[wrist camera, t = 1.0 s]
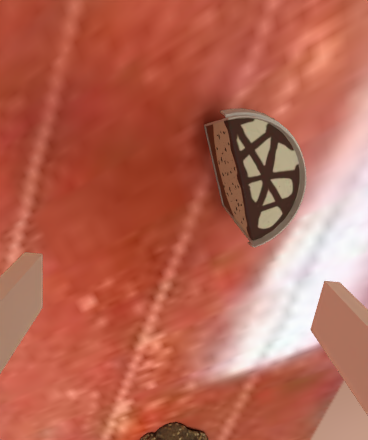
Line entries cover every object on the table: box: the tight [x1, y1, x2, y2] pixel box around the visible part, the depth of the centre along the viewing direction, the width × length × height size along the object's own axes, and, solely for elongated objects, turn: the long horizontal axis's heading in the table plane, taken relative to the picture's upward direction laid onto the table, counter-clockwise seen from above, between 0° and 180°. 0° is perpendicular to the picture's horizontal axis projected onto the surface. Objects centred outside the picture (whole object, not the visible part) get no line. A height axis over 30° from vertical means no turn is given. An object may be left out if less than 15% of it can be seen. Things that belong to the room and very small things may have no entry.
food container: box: [204, 108, 306, 247], centre depth 32 cm, size 12×6×10 cm, turn 15°
